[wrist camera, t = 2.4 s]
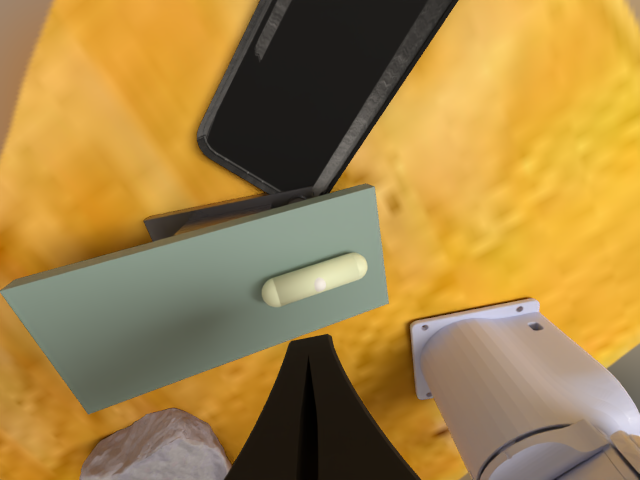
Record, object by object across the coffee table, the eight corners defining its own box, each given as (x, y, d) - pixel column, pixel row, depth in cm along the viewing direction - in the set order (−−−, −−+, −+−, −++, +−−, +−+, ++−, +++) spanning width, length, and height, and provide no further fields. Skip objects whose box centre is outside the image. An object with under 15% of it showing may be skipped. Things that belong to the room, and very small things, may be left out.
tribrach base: (311, 183, 18) (314, 197, 15) (332, 281, 21) (337, 309, 18) (149, 216, 18) (121, 236, 16) (190, 310, 21) (173, 342, 18)
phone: (487, -44, 14) (311, 219, 18) (474, -33, 15) (310, 213, 20) (348, -191, 12) (187, 145, 16) (344, -167, 13) (193, 143, 17)
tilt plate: (358, 180, 17) (389, 192, 14) (374, 287, 20) (402, 317, 16) (27, 270, 13) (-29, 312, 10) (101, 384, 16) (75, 443, 13)
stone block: (187, 378, 26) (83, 443, 26) (177, 428, 22) (51, 508, 21) (261, 449, 31) (175, 505, 31) (266, 501, 27) (165, 567, 26)
